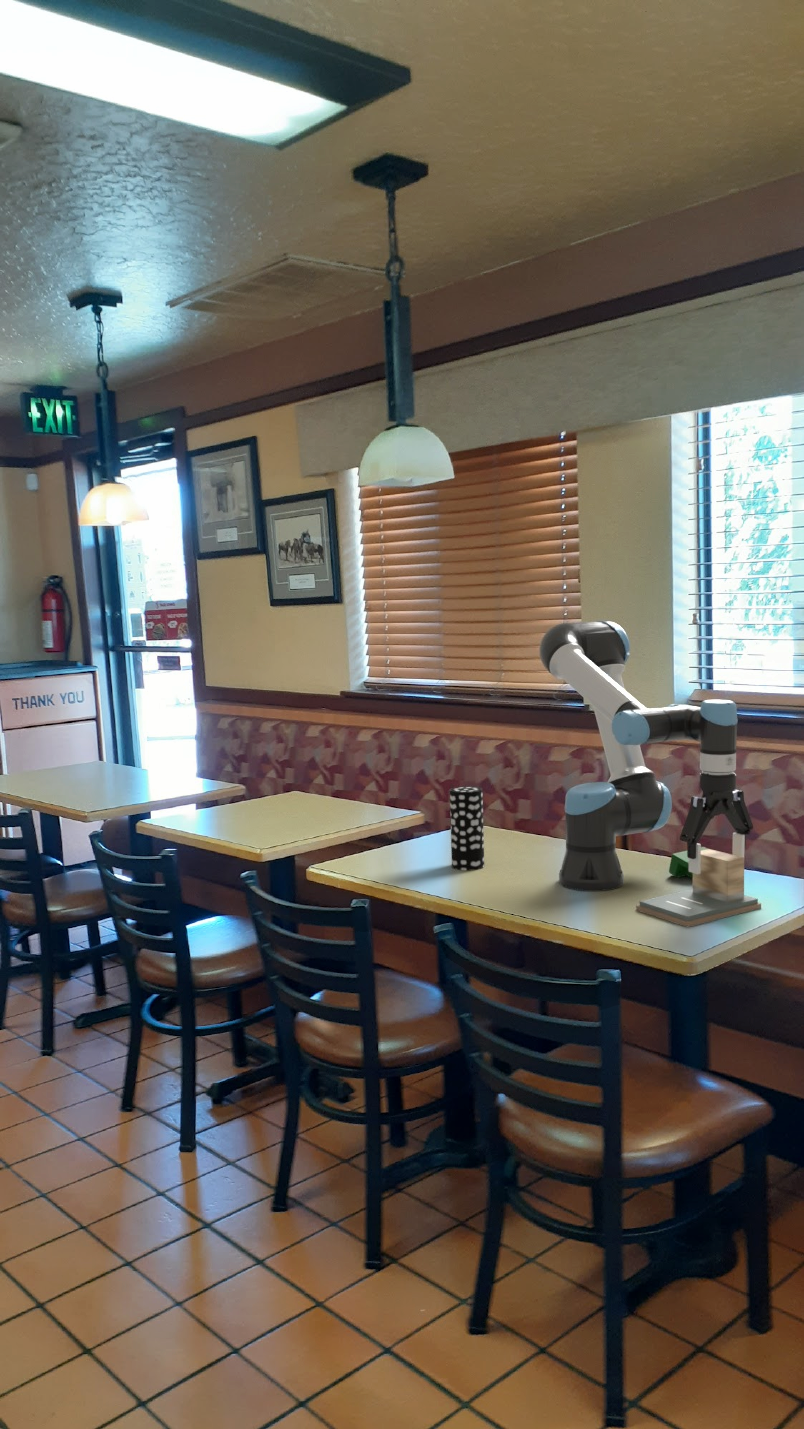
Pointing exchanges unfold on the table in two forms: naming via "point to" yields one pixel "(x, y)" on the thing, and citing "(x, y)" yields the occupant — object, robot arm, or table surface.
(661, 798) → the robot arm
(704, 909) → the slate board
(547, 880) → the table surface
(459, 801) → the white-spotted black cylinder
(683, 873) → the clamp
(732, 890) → the wooden block
